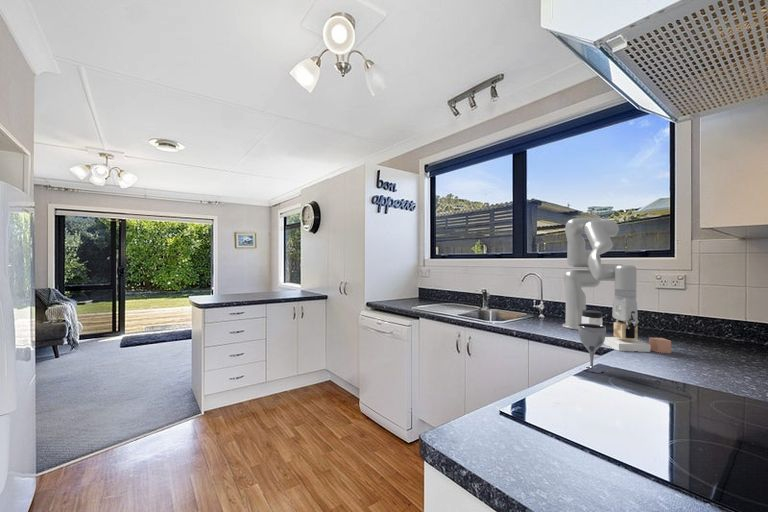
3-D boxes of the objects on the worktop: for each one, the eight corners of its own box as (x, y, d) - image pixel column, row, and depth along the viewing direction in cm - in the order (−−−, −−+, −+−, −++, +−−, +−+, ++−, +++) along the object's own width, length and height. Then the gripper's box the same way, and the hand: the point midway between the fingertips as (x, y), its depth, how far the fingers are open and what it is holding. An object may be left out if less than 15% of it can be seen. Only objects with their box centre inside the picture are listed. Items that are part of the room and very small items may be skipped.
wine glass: (580, 372, 110) (581, 327, 110) (576, 365, 117) (576, 322, 117) (608, 375, 107) (609, 329, 107) (602, 367, 114) (602, 324, 114)
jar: (599, 338, 156) (599, 313, 156) (579, 335, 162) (579, 311, 162) (604, 335, 162) (604, 311, 162) (585, 333, 168) (585, 309, 168)
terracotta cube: (649, 349, 138) (649, 337, 138) (662, 349, 138) (662, 337, 138) (657, 352, 133) (657, 340, 133) (671, 353, 133) (671, 340, 133)
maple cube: (613, 336, 144) (613, 322, 144) (628, 336, 143) (628, 322, 143) (622, 339, 138) (622, 325, 138) (637, 339, 137) (637, 325, 137)
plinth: (602, 343, 147) (602, 336, 147) (631, 344, 146) (631, 337, 146) (618, 351, 135) (618, 343, 135) (650, 352, 134) (650, 344, 134)
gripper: (604, 291, 150) (604, 331, 150) (628, 296, 133) (628, 341, 133) (622, 292, 149) (622, 331, 149) (648, 296, 132) (648, 341, 132)
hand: (625, 335), depth 141 cm, fingers closed on maple cube, 5 cm apart
